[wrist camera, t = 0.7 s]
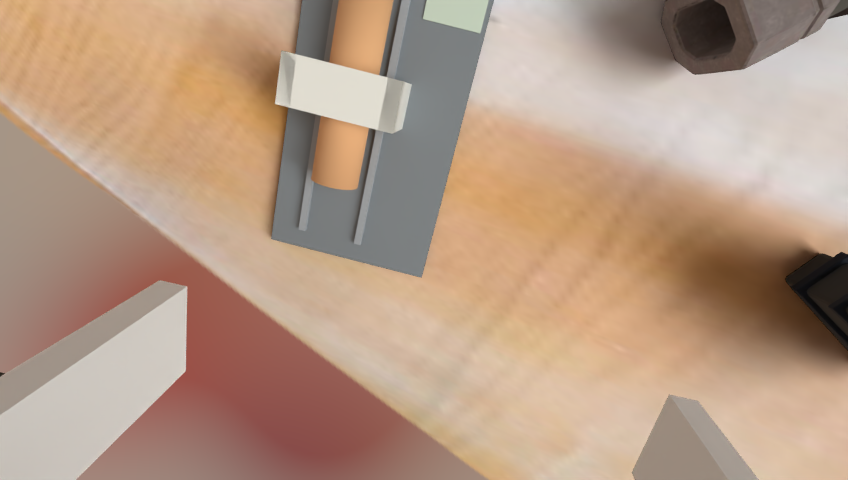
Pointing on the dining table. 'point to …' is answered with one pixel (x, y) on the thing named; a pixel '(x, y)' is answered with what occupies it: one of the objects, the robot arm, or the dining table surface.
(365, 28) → the tan cylindrical rod
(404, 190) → the guide mat
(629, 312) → the dining table surface
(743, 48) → the tube
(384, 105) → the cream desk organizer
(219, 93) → the dining table surface
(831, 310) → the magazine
